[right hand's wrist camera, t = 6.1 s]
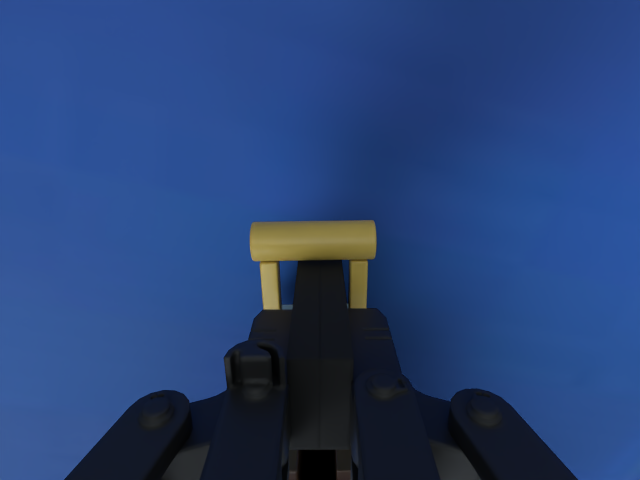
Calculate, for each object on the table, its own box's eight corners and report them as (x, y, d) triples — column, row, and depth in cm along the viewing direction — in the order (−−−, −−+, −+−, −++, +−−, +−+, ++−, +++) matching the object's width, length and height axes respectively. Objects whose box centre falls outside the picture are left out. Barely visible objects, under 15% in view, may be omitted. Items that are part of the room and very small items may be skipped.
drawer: (258, 193, 16) (222, 264, 10) (369, 191, 16) (400, 261, 10) (285, 550, 25) (275, 703, 19) (356, 549, 25) (369, 701, 19)
